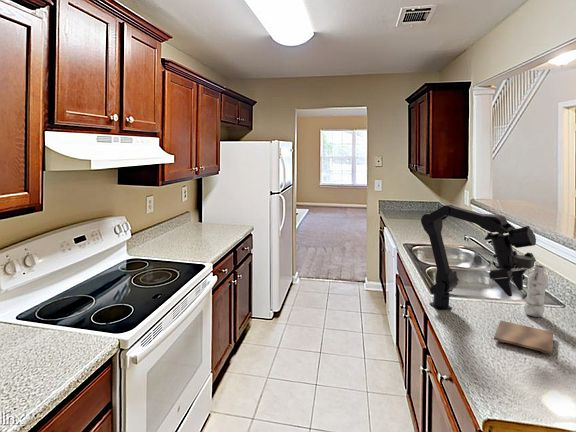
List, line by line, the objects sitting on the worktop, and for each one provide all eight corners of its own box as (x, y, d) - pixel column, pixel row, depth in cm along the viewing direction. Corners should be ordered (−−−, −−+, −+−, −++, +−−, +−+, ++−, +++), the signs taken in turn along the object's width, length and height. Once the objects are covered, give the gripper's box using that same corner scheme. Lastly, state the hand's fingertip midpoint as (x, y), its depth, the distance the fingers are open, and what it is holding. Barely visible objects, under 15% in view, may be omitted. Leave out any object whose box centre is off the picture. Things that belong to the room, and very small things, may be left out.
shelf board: (493, 342, 126) (494, 337, 126) (500, 325, 139) (500, 320, 139) (551, 357, 117) (552, 351, 117) (552, 337, 130) (553, 332, 129)
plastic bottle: (524, 310, 152) (529, 262, 149) (544, 315, 148) (550, 266, 145) (522, 316, 147) (527, 266, 144) (542, 320, 143) (548, 270, 140)
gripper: (516, 250, 123) (530, 298, 121) (537, 242, 134) (550, 285, 133) (482, 255, 131) (495, 300, 130) (505, 247, 143) (517, 288, 141)
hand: (515, 293), depth 133 cm, fingers open, 9 cm apart
